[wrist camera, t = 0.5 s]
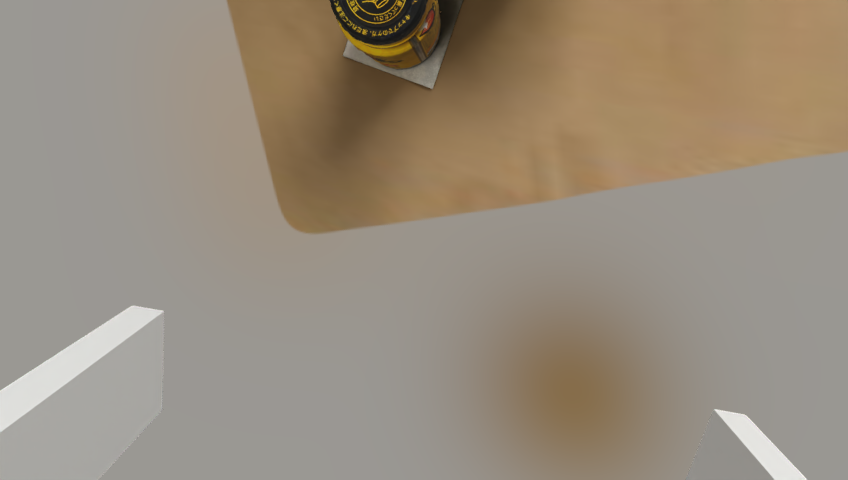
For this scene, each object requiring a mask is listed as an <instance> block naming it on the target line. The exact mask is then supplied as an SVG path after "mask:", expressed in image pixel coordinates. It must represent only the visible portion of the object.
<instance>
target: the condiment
mask: <svg viewBox="0 0 848 480" xmlns="http://www.w3.org/2000/svg"><path fill="white" fill-rule="evenodd" d="M330 2H331V7H332V10H333V12H334V14H335V15H336V19H337V21H338V23H339V25H340V28H341V30H342V31H343V33H344V35H345V37H346V38H347V39H348V41H347V44H346V48H345V51H344V54H343V56H344V57H347V58H350V59H352V60H355V61H358V62H361V63H363V64H366V65H369V66H371V67H374V68H377V69H379V70H382V71H385V72H388V73H390V74H393V75H396V76H398V77H401V78H404V79H407V80H409V81H412V82H415V83H417V84H420V85H423V86H426V87H428V88H431V89H433V86H434V83H435V81H436V78H437V75H438V72H439V69H440V66H441V63H442V60H443V57H444V54H445V51H446V49H447V46H448V43H449V40H450V37H451V34H452V31H453V28H454V25H455V22H456V19H457V16H458V13H459V11H460V8H461V5H462V2H463V0H330ZM440 11H442V12H441V13H440Z"/></svg>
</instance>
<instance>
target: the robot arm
mask: <svg viewBox="0 0 848 480" xmlns="http://www.w3.org/2000/svg"><path fill="white" fill-rule="evenodd" d="M163 351H164V311H161V310H156V309H150V308H144V307H139V306H133V305H132V306H131V307H129V308H127V309H126V310H124V311H123V312H121V313H120V314H118V315H117V316H115V317H113V318H112V319H110V320H109V321H107V322H106V323H104V324H103V325H101V326H100V327H98V328H96V329H95V330H93V331H92V332H90V333H89V334H87V335H86V336H84V337H83V338H81V339H79V340H78V341H76V342H75V343H73V344H72V345H70V346H69V347H67V348H65V349H64V350H62V351H61V352H59V353H58V354H56V355H55V356H53V357H52V358H50V359H48V360H47V361H45V362H44V363H42V364H41V365H39V366H38V367H36V368H35V369H33V370H31V371H30V372H28V373H27V374H25V375H24V376H22V377H21V378H19V379H18V380H16V381H14V382H13V383H11V384H10V385H8V386H7V387H5V388H4V389H2V390H1V391H0V480H98V479H99V478H100V477H101V476H102V475H103V474H104V473H105V472H106V471H107V470H108V468H109V467H110V466H111V465H112V464H113V463H114V462H115V461H116V460H117V459H118V458H119V457H120V456H121V454H122V453H123V452H124V451H125V450H126V449H127V448H128V447H129V446H130V445H131V444H132V442H133V441H134V440H135V439H136V438H137V437H138V436H139V435H140V434H141V433H142V432H143V431H144V430H145V428H146V427H147V426H148V425H149V424H150V423H151V422H152V421H153V420H154V419H155V418H156V417H157V415H158V414H159V413H160V412H161V411H162V396H163V395H162V394H163ZM686 480H807V479H806V478H805V477H804V476H803V475H802V474H801V473H800V472H799V470H798V469H796V467H795V466H794V465H793V464H792V463H791V462H790V461H789V460H788V459H787V458H786V457H785V456H784V455H783V454H782V453H781V452H780V450H779V449H778V448H777V447H776V446H775V445H774V444H773V443H772V442H771V441H770V440H769V439H768V438H767V437H766V436H765V435H764V434H763V433H762V432H761V430H760V429H759V428H758V427H757V426H756V425H755V424H754V423H753V422H752V421H751V420H750V419H749V418H748V417H747V416H746V415H744V414H739V413H733V412H727V411H722V410H716V409H714V410H713V412H712V414H711V417H710V420H709V422H708V425H707V427H706V429H705V432H704V435H703V437H702V440H701V442H700V445H699V447H698V450H697V452H696V455H695V457H694V460H693V462H692V465H691V468H690V470H689V472H688V475H687V477H686Z"/></svg>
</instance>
